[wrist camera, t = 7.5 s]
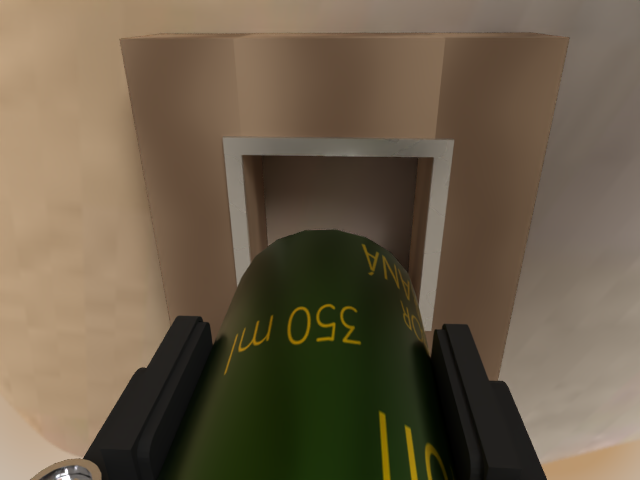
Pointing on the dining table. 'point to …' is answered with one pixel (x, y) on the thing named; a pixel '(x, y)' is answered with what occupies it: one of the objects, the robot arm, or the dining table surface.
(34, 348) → the dining table surface
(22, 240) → the dining table surface
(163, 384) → the robot arm
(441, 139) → the jig bore mouth
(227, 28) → the dining table surface
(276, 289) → the beer can
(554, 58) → the block
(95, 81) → the dining table surface
